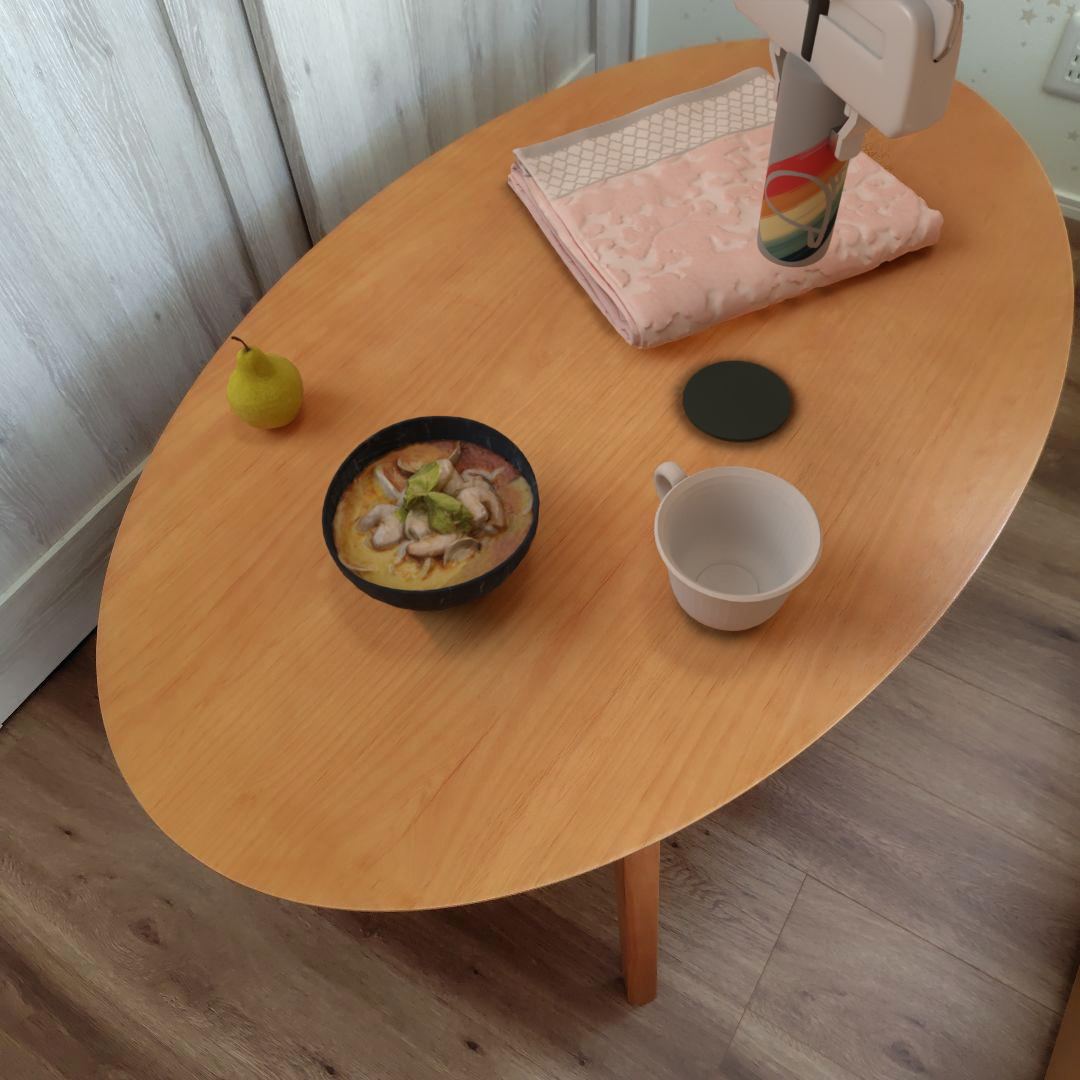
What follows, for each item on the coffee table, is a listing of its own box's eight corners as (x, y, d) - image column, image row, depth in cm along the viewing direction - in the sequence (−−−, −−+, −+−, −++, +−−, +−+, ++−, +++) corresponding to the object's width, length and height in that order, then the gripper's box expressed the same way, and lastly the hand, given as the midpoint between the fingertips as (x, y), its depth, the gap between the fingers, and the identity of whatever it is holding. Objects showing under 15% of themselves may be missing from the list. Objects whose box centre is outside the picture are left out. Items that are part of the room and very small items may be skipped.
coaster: (755, 350, 92) (755, 347, 92) (811, 419, 86) (812, 416, 86) (663, 384, 90) (663, 381, 90) (715, 456, 85) (716, 453, 84)
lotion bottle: (785, 278, 73) (836, 13, 56) (741, 239, 76) (777, -25, 59) (844, 252, 74) (910, -15, 58) (798, 214, 77) (849, -50, 61)
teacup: (709, 494, 82) (719, 417, 74) (833, 612, 75) (859, 540, 67) (598, 564, 79) (596, 492, 71) (717, 695, 71) (730, 630, 63)
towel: (764, 98, 116) (770, 52, 112) (942, 254, 98) (958, 207, 93) (500, 185, 110) (495, 140, 105) (637, 371, 91) (639, 326, 86)
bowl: (336, 656, 76) (302, 591, 67) (355, 487, 85) (328, 413, 77) (548, 646, 75) (540, 579, 67) (543, 477, 85) (535, 400, 76)
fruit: (256, 387, 93) (214, 293, 84) (322, 393, 92) (287, 298, 83) (232, 440, 90) (184, 347, 80) (299, 447, 89) (260, 353, 79)
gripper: (1019, -31, 50) (943, 194, 61) (808, -161, 61) (777, 50, 73) (919, -1, 49) (861, 223, 60) (722, -139, 60) (705, 72, 71)
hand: (814, 128), depth 67 cm, fingers closed on lotion bottle, 6 cm apart
